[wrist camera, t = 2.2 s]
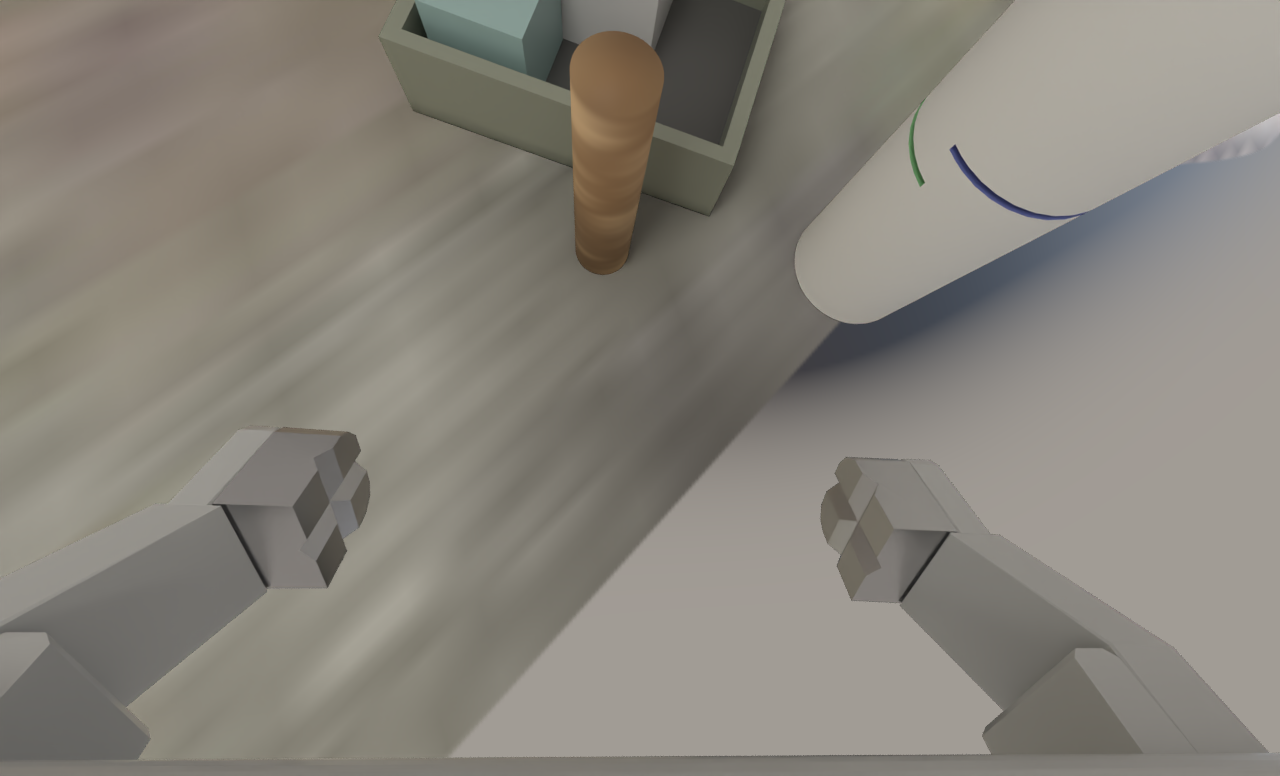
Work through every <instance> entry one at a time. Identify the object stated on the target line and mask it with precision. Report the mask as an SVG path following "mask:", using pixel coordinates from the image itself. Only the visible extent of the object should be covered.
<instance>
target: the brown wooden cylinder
mask: <svg viewBox="0 0 1280 776" xmlns="http://www.w3.org/2000/svg"><path fill="white" fill-rule="evenodd" d="M663 84H664V70H663V66H662V63H661V60H660V58H659V56H658V55H657V53H656V52H655V51H654V49H653V48H652V47H651V46H650V45H649V44H648V43H646V42H645V41H644V40H642V39H640V38H639V37H637V36H634V35H632V34H629V33H626V32H621V31H605V32H600V33H597V34H594V35H592V36H590V37H588V38H586V39H585V40H584V41H583V42H581V43H580V44H579V46H578V47H577V48H576V50H575V51H574V53H573V55H572V58H571V62H570V94H571V125H572V155H573V185H574V216H575V246H576V255H577V258H578V260H579V262H580V263H581V265H582V266H583V267H584V268H585V269H587V270H588V271H590V272H592V273H595V274H600V275H605V274H611V273H614V272H616V271H617V270H619V269H620V268H621V267H622V266H623V265H624V263H625V262H626V260H627V257H628V252H629V248H630V243H631V238H632V233H633V228H634V224H635V219H636V214H637V209H638V204H639V199H640V195H641V190H642V185H643V180H644V175H645V171H646V166H647V161H648V156H649V151H650V146H651V142H652V137H653V132H654V127H655V122H656V118H657V113H658V108H659V103H660V98H661V93H662V89H663Z"/></svg>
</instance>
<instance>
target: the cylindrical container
mask: <svg viewBox="0 0 1280 776" xmlns="http://www.w3.org/2000/svg"><path fill="white" fill-rule="evenodd" d="M1278 113H1280V0H1015V1H1014V2H1013V3H1012V4H1011V5H1010V6H1009V8H1008V9H1007V10H1006V11H1005V12H1004V13H1003V14H1002V15H1001V16H1000V17H999V18H998V20H997V21H996V22H995V23H994V24H993V25H992V26H991V27H990V28H989V29H988V30H987V32H986V33H985V34H984V35H983V36H982V37H981V38H980V39H979V40H978V41H977V42H976V44H975V45H974V46H973V47H972V48H971V49H970V50H969V51H968V52H967V53H966V54H965V56H964V57H963V58H962V59H961V60H960V61H959V62H958V63H957V64H956V65H955V66H954V68H953V69H952V70H951V71H950V72H949V73H948V74H947V75H946V76H945V77H944V79H943V80H942V81H941V82H940V83H939V84H938V85H937V86H936V87H935V88H934V90H933V91H932V92H931V93H930V94H929V95H928V96H927V97H926V98H925V99H924V101H923V102H922V103H921V104H920V105H919V106H918V107H917V108H916V109H915V110H914V111H913V113H912V114H911V115H910V116H909V117H908V118H907V119H906V120H905V121H904V122H903V123H902V125H901V126H900V127H899V128H898V129H897V130H896V131H895V132H894V133H893V134H892V135H891V137H890V138H889V139H888V140H887V141H886V142H885V143H884V144H883V145H882V146H881V147H880V149H879V150H878V151H877V152H876V153H875V154H874V155H873V156H872V157H871V158H870V159H869V161H868V162H867V163H866V164H865V165H864V166H863V167H862V168H861V169H860V170H859V171H858V172H857V174H856V175H855V176H854V177H853V178H852V179H851V180H850V181H849V182H848V183H847V184H846V186H845V187H844V188H843V189H842V190H841V191H840V192H839V193H838V194H837V195H836V196H835V198H834V199H833V200H832V201H831V202H830V203H829V204H828V205H827V206H826V207H825V208H824V210H823V211H822V212H821V213H820V214H819V215H818V216H817V217H816V218H815V219H814V220H813V222H812V223H811V224H810V225H809V226H808V227H807V228H806V229H805V231H804V232H803V233H802V235H801V237H800V239H799V241H798V244H797V247H796V251H795V262H794V264H795V271H796V276H797V279H798V282H799V285H800V287H801V289H802V291H803V292H804V294H805V296H806V297H807V298H808V299H809V301H810V302H811V303H812V304H813V305H814V306H815V307H816V308H817V309H818V310H820V311H821V312H822V313H824V314H826V315H827V316H829V317H831V318H833V319H835V320H838V321H841V322H844V323H851V324H864V323H870V322H873V321H877V320H879V319H881V318H883V317H885V316H887V315H889V314H890V313H892V312H894V311H896V310H898V309H900V308H902V307H904V306H906V305H908V304H910V303H912V302H914V301H916V300H917V299H919V298H921V297H923V296H925V295H927V294H929V293H931V292H933V291H935V290H937V289H939V288H941V287H943V286H944V285H947V284H949V283H950V282H952V281H954V280H956V279H958V278H960V277H962V276H964V275H966V274H968V273H969V272H972V271H974V270H976V269H978V268H979V267H981V266H983V265H985V264H987V263H989V262H991V261H993V260H995V259H997V258H999V257H1001V256H1003V255H1005V254H1007V253H1009V252H1011V251H1013V250H1014V249H1016V248H1018V247H1020V246H1022V245H1024V244H1026V243H1028V242H1030V241H1032V240H1034V239H1036V238H1038V237H1040V236H1042V235H1044V234H1045V233H1048V232H1050V231H1051V230H1053V229H1055V228H1057V227H1059V226H1061V225H1063V224H1065V223H1067V222H1069V221H1071V220H1073V219H1075V218H1077V217H1079V216H1081V215H1083V214H1084V213H1086V212H1088V211H1090V210H1092V209H1094V208H1096V207H1098V206H1100V205H1102V204H1104V203H1106V202H1108V201H1110V200H1112V199H1114V198H1115V197H1117V196H1119V195H1121V194H1123V193H1125V192H1127V191H1129V190H1131V189H1133V188H1135V187H1137V186H1139V185H1141V184H1143V183H1145V182H1147V181H1148V180H1150V179H1152V178H1154V177H1156V176H1158V175H1160V174H1162V173H1164V172H1166V171H1168V170H1170V169H1172V168H1174V167H1176V166H1178V165H1179V164H1181V163H1183V162H1185V161H1187V160H1189V159H1191V158H1193V157H1195V156H1197V155H1199V154H1201V153H1203V152H1205V151H1207V150H1209V149H1210V148H1212V147H1214V146H1216V145H1218V144H1220V143H1222V142H1224V141H1226V140H1228V139H1230V138H1232V137H1234V136H1236V135H1238V134H1240V133H1241V132H1243V131H1245V130H1247V129H1249V128H1251V127H1253V126H1255V125H1257V124H1259V123H1261V122H1263V121H1265V120H1267V119H1269V118H1270V117H1272V116H1274V115H1276V114H1278Z"/></svg>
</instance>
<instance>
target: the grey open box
mask: <svg viewBox="0 0 1280 776" xmlns="http://www.w3.org/2000/svg"><path fill="white" fill-rule="evenodd" d="M785 1H786V0H396V2H395V4H394V6H393V8H392V10H391V12H390V14H389V16H388V18H387V20H386V22H385V24H384V26H383V28H382V30H381V32H380V34H379V36H378V37H379V39H380V41H381V43H382V45H383V47H384V49H385V52H386V54H387V56H388V58H389V60H390V62H391V64H392V66H393V69H394V71H395V73H396V75H397V77H398V79H399V81H400V84H401V86H402V88H403V90H404V92H405V94H406V96H407V98H408V101H409V103H410V105H411V107H412V109H413V111H416V112H418V113H421V114H424V115H427V116H430V117H432V118H435V119H438V120H441V121H444V122H446V123H449V124H452V125H455V126H458V127H460V128H463V129H466V130H469V131H472V132H474V133H477V134H480V135H483V136H486V137H488V138H491V139H494V140H497V141H500V142H502V143H505V144H508V145H511V146H514V147H516V148H519V149H522V150H525V151H528V152H530V153H533V154H536V155H539V156H542V157H544V158H547V159H550V160H553V161H556V162H558V163H561V164H564V165H567V166H570V167H572V168H573V155H572V125H571V94H570V62H571V58H572V55H573V53H574V51H575V50H576V48H577V47H578V46H579V44H580V43H581V42H583V41H584V40H585V39H586V38H588V37H590V36H592V35H594V34H597V33H600V32H605V31H621V32H626V33H629V34H632V35H634V36H637V37H639V38H640V39H642V40H644V41H645V42H646V43H648V44H649V45H650V46H651V47H652V48H653V49H654V51H655V52H656V53H657V55H658V56H659V58H660V60H661V63H662V66H663V70H664V84H663V89H662V93H661V98H660V103H659V108H658V113H657V118H656V122H655V127H654V132H653V137H652V142H651V146H650V151H649V156H648V161H647V166H646V171H645V175H644V180H643V185H642V190H641V192H642V193H645V194H648V195H651V196H654V197H656V198H659V199H662V200H665V201H668V202H670V203H673V204H676V205H679V206H682V207H684V208H687V209H690V210H693V211H696V212H698V213H701V214H704V215H707V216H709V215H710V213H711V211H712V209H713V207H714V205H715V203H716V201H717V199H718V197H719V195H720V193H721V191H722V189H723V187H724V185H725V183H726V181H727V179H728V177H729V175H730V173H731V171H732V169H733V167H734V164H735V161H736V158H737V155H738V151H739V148H740V145H741V142H742V139H743V135H744V132H745V129H746V126H747V123H748V119H749V116H750V113H751V110H752V107H753V103H754V100H755V97H756V94H757V91H758V87H759V84H760V81H761V78H762V75H763V71H764V68H765V65H766V62H767V59H768V55H769V52H770V49H771V46H772V43H773V40H774V36H775V33H776V30H777V27H778V24H779V20H780V17H781V14H782V11H783V8H784V4H785Z"/></svg>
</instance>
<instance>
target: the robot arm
mask: <svg viewBox="0 0 1280 776" xmlns="http://www.w3.org/2000/svg"><path fill="white" fill-rule="evenodd" d="M360 452H361V449H360V446H359V444H358V441H357V438H356V435H354V434H352V433H350V432H344V431H330V430H316V429H302V428H289V427H283V428H279V427H266V426H253V425H249V426H247V427H244V428H241V429H239V430H238V431H237V432H236V433H235V434H234V435H233V436H232V437H231V438H230V439H229V440H228V441H227V442H226V443H225V444H224V445H223V446H222V447H221V448H220V449H219V450H218V452H217V453H216V454H215V455H214V456H213V457H212V458H211V459H210V460H209V461H208V462H207V463H206V464H205V465H204V466H203V467H202V468H201V469H200V470H199V471H198V472H197V473H196V475H195V476H194V477H193V478H192V479H191V480H190V481H189V482H188V483H187V484H186V485H185V486H184V487H183V488H182V489H181V490H180V491H179V492H178V493H177V494H176V495H175V496H174V497H173V499H172V500H171V501H170V502H169V503H168V504H159V503H155V504H153V505H151V506H149V507H147V508H145V509H143V510H141V511H139V512H137V513H135V514H132V515H130V516H128V517H126V518H124V519H122V520H120V521H118V522H116V523H114V524H112V525H110V526H108V527H106V528H103V529H101V530H99V531H97V532H95V533H93V534H91V535H89V536H87V537H85V538H83V539H81V540H79V541H77V542H74V543H72V544H70V545H68V546H66V547H64V548H62V549H60V550H58V551H56V552H54V553H52V554H50V555H48V556H45V557H43V558H41V559H39V560H37V561H35V562H33V563H31V564H29V565H27V566H25V567H23V568H21V569H18V570H16V571H14V572H12V573H10V574H8V575H6V576H4V577H2V578H0V776H1280V753H1269V752H1268V751H1267V750H1266V748H1265V747H1264V746H1263V745H1262V744H1261V743H1260V742H1259V741H1258V740H1257V739H1256V737H1255V736H1254V735H1253V734H1252V733H1251V732H1250V731H1249V730H1248V729H1247V728H1246V726H1245V725H1244V724H1243V723H1242V722H1241V721H1240V720H1239V719H1238V718H1237V716H1236V715H1235V714H1234V713H1233V712H1232V711H1231V710H1230V709H1229V708H1228V707H1227V705H1226V704H1225V703H1224V702H1223V701H1222V700H1221V699H1220V698H1219V697H1218V696H1217V695H1216V693H1215V692H1214V691H1213V690H1212V689H1211V688H1210V687H1209V686H1208V684H1207V683H1205V681H1204V680H1203V679H1202V678H1201V677H1200V676H1199V675H1198V673H1197V672H1196V671H1195V670H1194V669H1193V668H1192V667H1191V666H1190V665H1189V664H1188V662H1187V661H1186V660H1185V659H1184V658H1183V657H1182V656H1181V655H1180V654H1179V652H1178V651H1177V650H1176V649H1175V648H1174V647H1172V646H1171V645H1169V644H1168V643H1166V642H1165V641H1163V640H1162V639H1160V638H1159V637H1157V636H1155V635H1154V634H1152V633H1151V632H1149V631H1148V630H1146V629H1145V628H1143V627H1141V626H1140V625H1138V624H1137V623H1135V622H1134V621H1132V620H1131V619H1129V618H1128V617H1126V616H1125V615H1123V614H1121V613H1120V612H1118V611H1117V610H1115V609H1114V608H1112V607H1111V606H1109V605H1108V604H1106V603H1104V602H1103V601H1101V600H1100V599H1098V598H1097V597H1095V596H1093V595H1092V594H1090V593H1089V592H1087V591H1086V590H1084V589H1083V588H1081V587H1080V586H1078V585H1077V584H1075V583H1073V582H1072V581H1070V580H1069V579H1067V578H1066V577H1064V576H1063V575H1061V574H1060V573H1058V572H1056V571H1055V570H1053V569H1052V568H1050V567H1049V566H1047V565H1046V564H1044V563H1042V562H1041V561H1040V560H1038V559H1036V558H1035V557H1033V556H1032V555H1030V554H1029V553H1027V552H1026V551H1024V550H1023V549H1021V548H1019V547H1018V546H1016V545H1015V544H1013V543H1012V542H1010V541H1009V540H1007V539H1006V538H1004V537H1002V536H1001V535H996V534H990V533H989V531H988V530H987V529H986V527H985V526H984V525H983V523H982V522H981V521H980V520H979V518H978V517H977V515H976V514H975V513H974V511H973V510H972V509H971V508H970V506H969V505H968V503H967V502H966V501H965V499H964V498H963V497H962V496H961V494H960V493H959V492H958V490H957V489H956V488H955V486H954V485H953V484H952V482H951V481H950V480H949V478H948V477H947V476H946V474H945V473H944V472H943V470H942V469H941V468H940V467H939V465H937V464H936V463H934V462H933V461H931V460H916V459H901V460H898V459H879V458H855V457H846V458H844V460H842V461H841V462H840V463H839V465H838V467H837V470H836V472H835V475H836V477H837V479H838V481H839V483H838V484H836V485H835V486H833V487H832V488H831V489H829V490H828V491H827V492H826V494H825V497H824V499H823V502H822V504H821V525H822V530H823V533H824V535H825V538H826V540H827V543H828V544H829V545H830V546H831V547H832V548H833V549H834V550H836V551H837V552H838V553H839V554H840V555H841V556H840V558H839V561H838V564H837V567H838V570H839V572H840V574H841V577H842V579H843V581H844V584H845V586H846V589H847V591H848V593H849V596H850V598H851V600H852V601H869V602H889V603H901V604H900V606H901V607H902V608H903V609H904V610H905V611H906V612H907V613H908V614H909V615H910V616H911V617H912V618H913V619H914V621H915V622H916V623H918V624H919V626H921V628H922V629H923V630H924V631H925V632H926V633H927V634H928V635H929V636H930V637H931V638H932V639H933V640H934V641H935V642H936V643H937V644H938V645H939V646H940V647H941V648H942V649H943V650H944V651H945V652H946V653H947V654H948V655H949V656H950V657H951V658H952V659H953V660H954V661H955V662H956V663H957V664H958V665H959V666H960V667H961V668H962V669H963V670H964V671H965V672H966V673H967V674H968V675H969V676H970V677H971V678H972V679H973V680H974V681H975V682H976V683H977V684H978V685H979V686H980V687H981V688H982V689H983V690H984V691H985V692H986V693H987V694H988V695H989V696H990V697H991V698H992V699H993V701H995V702H996V704H997V705H998V706H999V707H1000V708H1001V709H1002V710H1003V712H1002V713H1001V714H1000V715H999V716H998V717H996V718H995V719H994V720H993V721H992V722H991V723H990V724H988V725H987V726H986V727H985V730H984V732H983V735H982V737H983V739H984V741H985V742H986V744H987V746H988V748H989V750H990V752H991V755H990V754H989V755H988V754H986V755H985V754H984V755H981V754H980V755H822V756H821V755H816V756H814V755H813V756H661V757H659V756H654V757H653V756H649V757H487V758H486V757H484V758H483V757H478V758H324V759H170V760H137V759H138V758H139V756H140V755H141V753H142V752H143V750H144V748H145V747H146V745H147V744H148V742H149V741H150V739H151V738H150V734H149V729H148V727H146V726H145V725H144V724H143V723H142V722H141V721H140V720H139V719H138V718H137V717H136V716H135V715H134V714H133V713H132V712H130V711H129V710H128V709H127V708H126V707H127V706H128V705H129V704H130V703H131V702H133V701H134V700H135V699H136V698H138V697H139V696H140V695H141V694H142V693H144V692H145V691H146V690H147V689H149V688H150V687H151V686H152V685H154V684H155V683H156V682H157V681H158V680H160V679H161V678H162V677H163V676H165V675H166V674H167V673H168V672H169V671H171V670H172V669H173V668H174V667H176V666H177V665H178V664H179V663H181V662H182V661H183V660H184V659H185V658H187V657H188V656H189V655H190V654H192V653H193V652H194V651H195V650H196V649H198V648H199V647H200V646H201V645H203V644H204V643H205V642H206V641H207V640H209V639H210V638H211V637H212V636H214V635H215V634H216V633H217V632H219V631H220V630H221V629H222V628H223V627H225V626H226V625H227V624H228V623H230V622H231V621H232V620H233V619H234V618H236V617H237V616H238V615H239V614H241V613H242V612H243V611H244V610H246V609H247V608H248V607H249V606H250V605H252V604H253V603H254V602H255V601H257V600H258V599H259V598H260V597H261V596H263V595H264V594H265V593H266V592H267V589H271V588H328V586H329V584H330V582H331V581H332V579H333V577H334V575H335V573H336V571H337V569H338V567H339V565H340V563H341V561H342V560H343V558H344V556H345V554H346V552H347V550H346V547H345V544H344V541H343V538H345V537H346V536H348V535H349V534H351V533H352V532H354V531H355V530H356V529H358V528H359V527H360V525H361V523H362V521H363V518H364V516H365V514H366V512H367V507H368V503H369V498H370V481H369V478H368V474H367V471H366V470H365V469H364V468H363V467H361V466H360V465H359V464H358V463H356V462H355V460H356V458H357V457H358V455H359V453H360Z"/></svg>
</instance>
